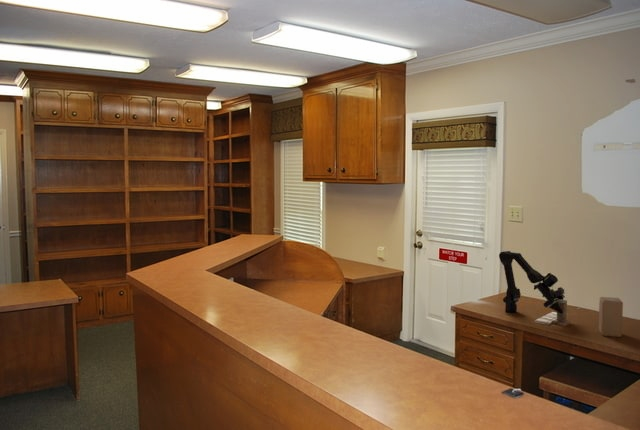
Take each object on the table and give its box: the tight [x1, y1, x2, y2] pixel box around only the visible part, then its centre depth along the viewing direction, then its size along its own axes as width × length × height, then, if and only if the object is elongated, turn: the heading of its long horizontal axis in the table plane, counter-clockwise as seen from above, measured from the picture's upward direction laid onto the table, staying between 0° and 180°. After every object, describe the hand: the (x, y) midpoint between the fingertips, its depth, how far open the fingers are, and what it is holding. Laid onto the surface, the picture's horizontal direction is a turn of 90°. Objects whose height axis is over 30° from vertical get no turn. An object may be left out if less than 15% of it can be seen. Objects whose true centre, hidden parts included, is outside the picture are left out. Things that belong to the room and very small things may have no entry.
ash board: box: [534, 311, 557, 326], centre depth 319 cm, size 26×8×1 cm, turn 134°
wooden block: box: [598, 296, 624, 338], centre depth 288 cm, size 10×10×20 cm
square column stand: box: [552, 299, 571, 327], centre depth 309 cm, size 7×7×14 cm
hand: (564, 312), depth 308 cm, fingers open, 5 cm apart
